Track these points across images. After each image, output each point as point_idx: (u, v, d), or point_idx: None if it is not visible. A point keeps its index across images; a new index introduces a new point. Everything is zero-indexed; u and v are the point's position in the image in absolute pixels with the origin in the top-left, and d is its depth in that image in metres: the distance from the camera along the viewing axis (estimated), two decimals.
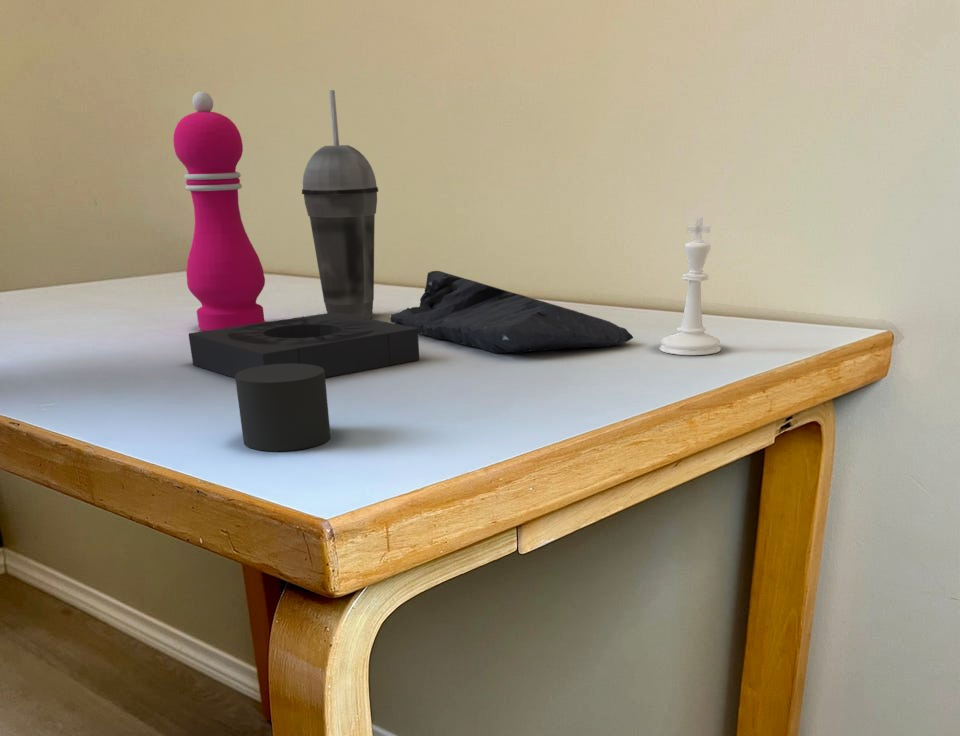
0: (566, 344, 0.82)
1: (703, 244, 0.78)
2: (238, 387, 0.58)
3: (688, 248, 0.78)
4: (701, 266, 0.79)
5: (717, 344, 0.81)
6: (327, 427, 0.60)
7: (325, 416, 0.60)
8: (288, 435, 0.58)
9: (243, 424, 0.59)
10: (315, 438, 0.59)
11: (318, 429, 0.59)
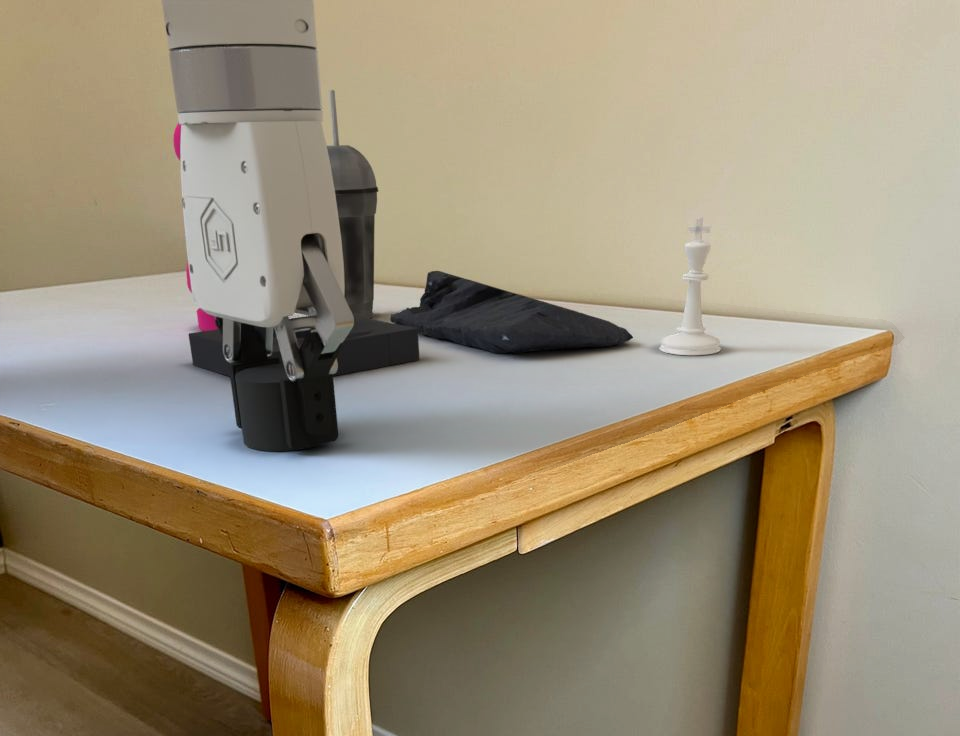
0: (566, 344, 0.82)
1: (703, 244, 0.78)
2: (238, 387, 0.58)
3: (688, 248, 0.78)
4: (701, 266, 0.79)
5: (717, 344, 0.81)
6: None
7: None
8: None
9: (243, 424, 0.59)
10: None
11: None
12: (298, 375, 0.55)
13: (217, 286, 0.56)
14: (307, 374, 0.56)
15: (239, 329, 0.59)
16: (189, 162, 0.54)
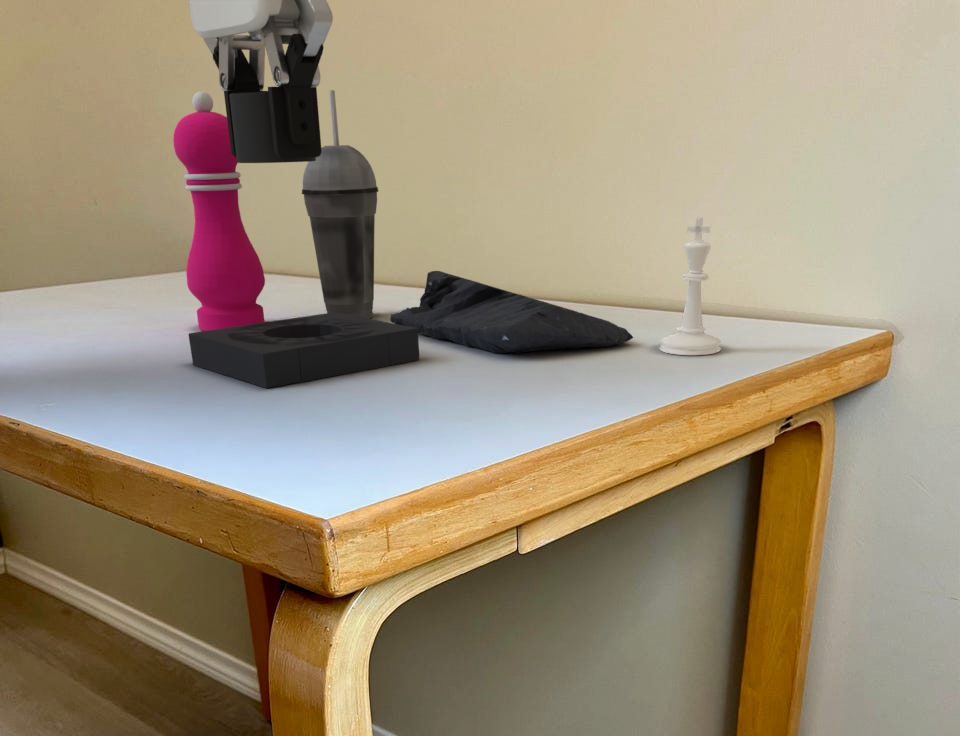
0: (566, 344, 0.82)
1: (703, 244, 0.78)
2: (232, 103, 0.65)
3: (688, 248, 0.78)
4: (701, 266, 0.79)
5: (717, 344, 0.81)
6: None
7: None
8: None
9: (236, 140, 0.65)
10: None
11: None
12: (284, 79, 0.62)
13: (212, 1, 0.62)
14: (292, 79, 0.62)
15: (233, 55, 0.66)
16: None
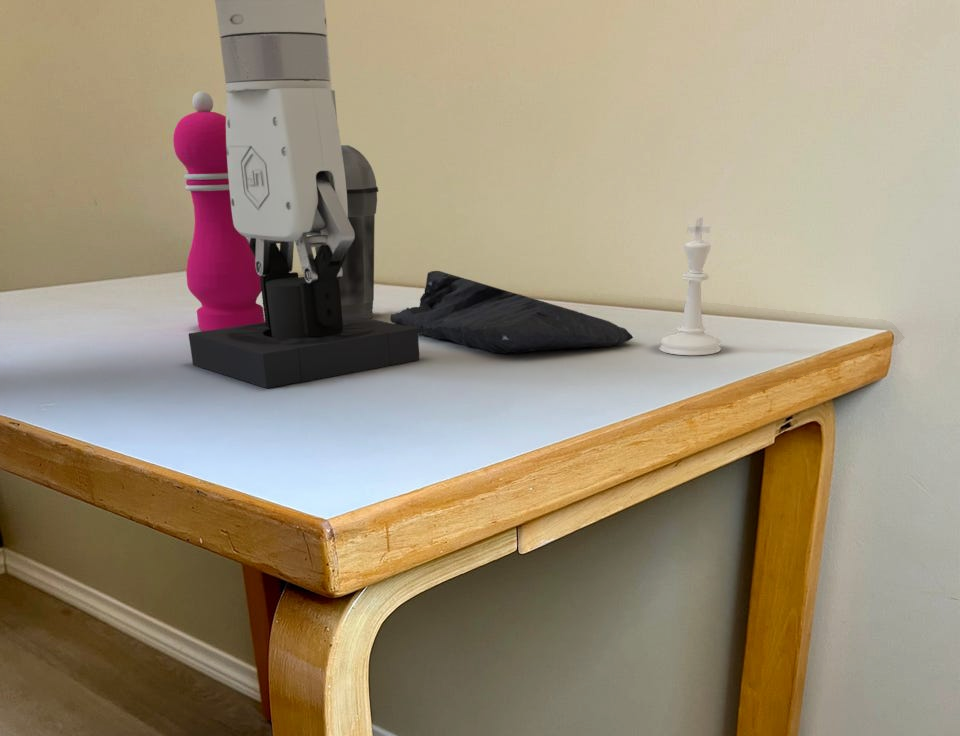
0: (566, 344, 0.82)
1: (703, 244, 0.78)
2: (268, 291, 0.78)
3: (688, 248, 0.78)
4: (701, 266, 0.79)
5: (717, 344, 0.81)
6: None
7: None
8: None
9: (272, 320, 0.78)
10: None
11: None
12: (313, 278, 0.75)
13: (253, 213, 0.75)
14: (320, 278, 0.75)
15: (268, 249, 0.79)
16: (233, 120, 0.74)
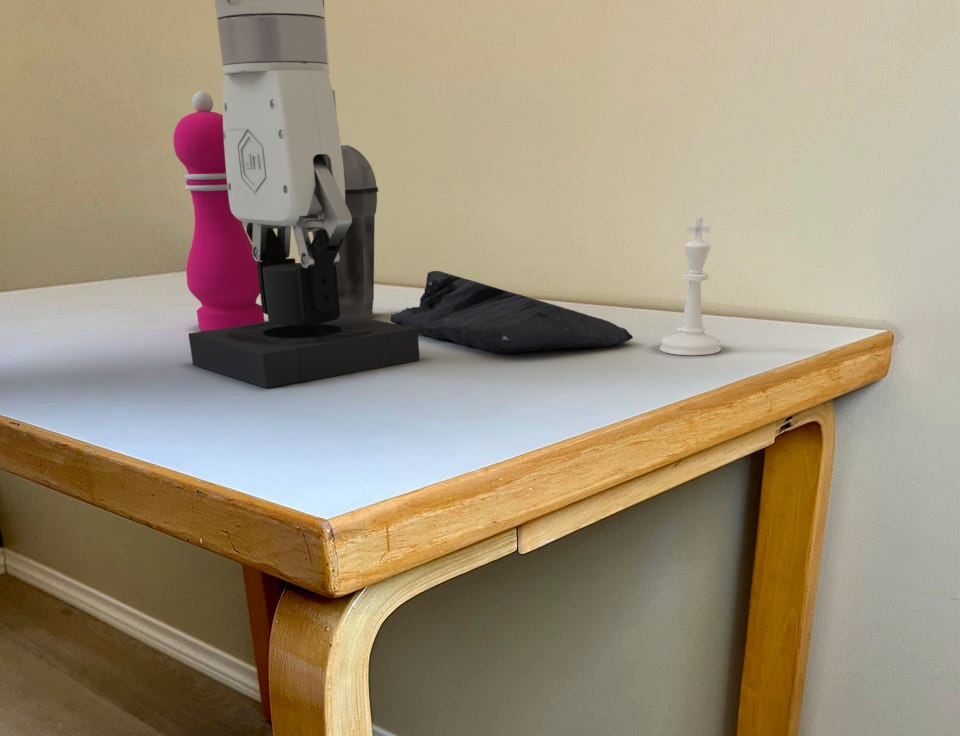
0: (566, 344, 0.82)
1: (703, 244, 0.78)
2: (265, 276, 0.77)
3: (688, 248, 0.78)
4: (701, 266, 0.79)
5: (717, 344, 0.81)
6: None
7: None
8: None
9: (269, 305, 0.78)
10: None
11: None
12: (310, 263, 0.74)
13: (250, 197, 0.75)
14: (317, 263, 0.74)
15: (265, 234, 0.78)
16: (230, 103, 0.73)
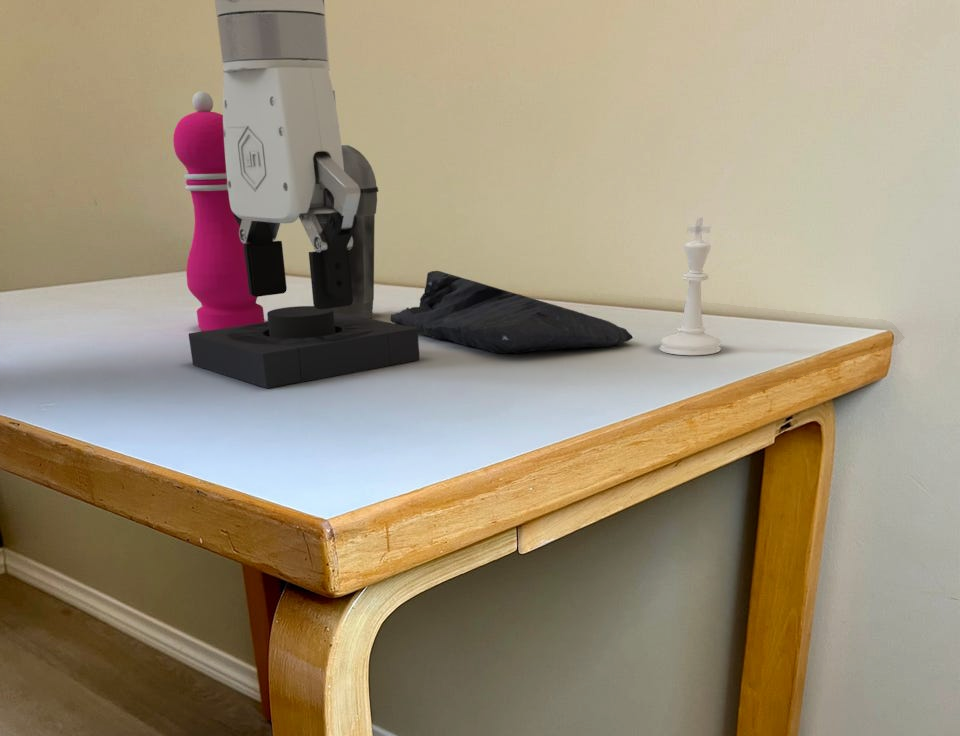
0: (566, 344, 0.82)
1: (703, 244, 0.78)
2: (269, 321, 0.79)
3: (688, 248, 0.78)
4: (701, 266, 0.79)
5: (717, 344, 0.81)
6: None
7: None
8: None
9: None
10: None
11: None
12: (323, 247, 0.72)
13: (250, 195, 0.75)
14: (330, 247, 0.73)
15: None
16: (230, 101, 0.73)
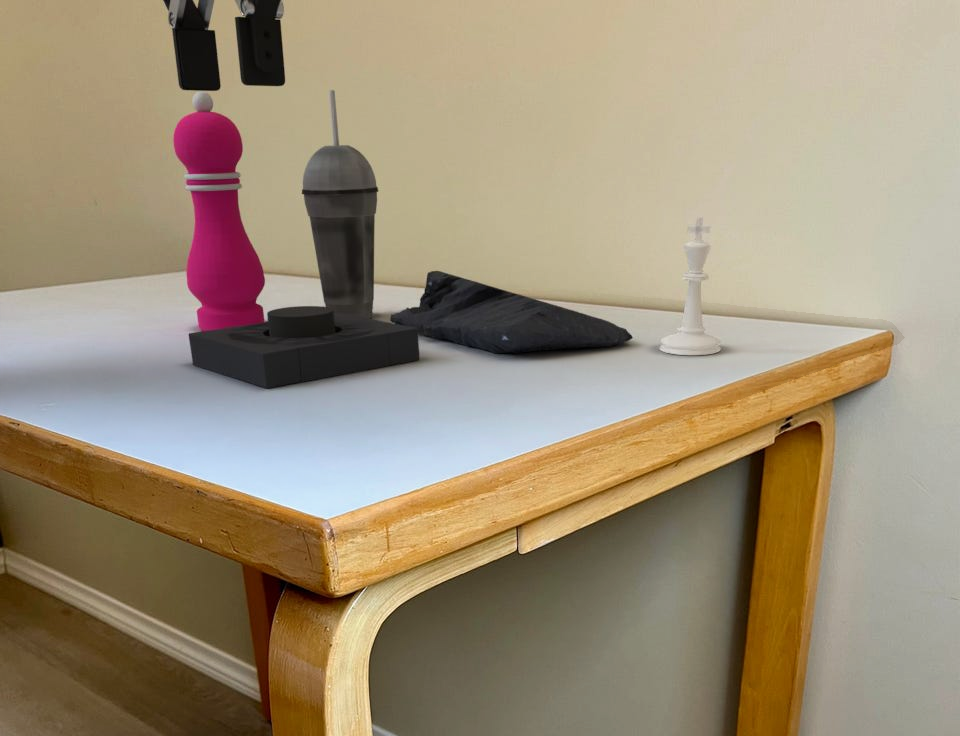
0: (566, 344, 0.82)
1: (703, 244, 0.78)
2: (269, 321, 0.79)
3: (688, 248, 0.78)
4: (701, 266, 0.79)
5: (717, 344, 0.81)
6: None
7: None
8: None
9: None
10: None
11: None
12: (249, 9, 0.67)
13: None
14: (257, 10, 0.67)
15: None
16: None
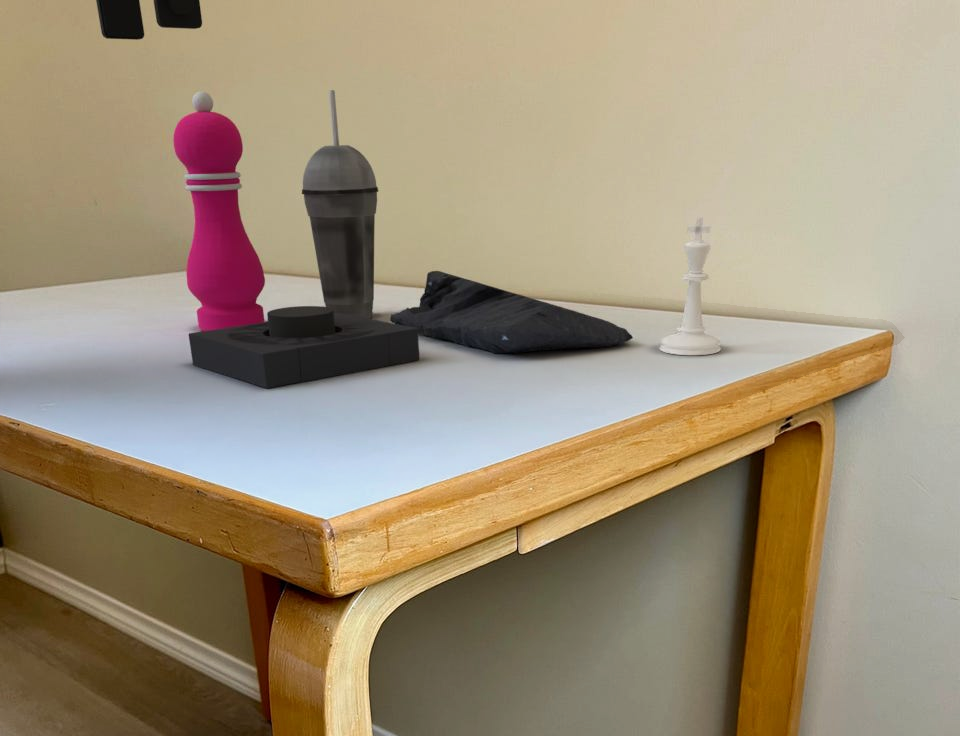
0: (566, 344, 0.82)
1: (703, 244, 0.78)
2: (269, 321, 0.79)
3: (688, 248, 0.78)
4: (701, 266, 0.79)
5: (717, 344, 0.81)
6: None
7: None
8: None
9: None
10: None
11: None
12: None
13: None
14: None
15: None
16: None
